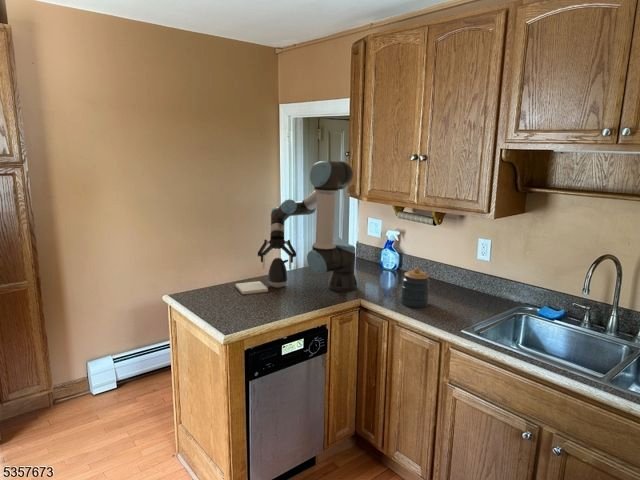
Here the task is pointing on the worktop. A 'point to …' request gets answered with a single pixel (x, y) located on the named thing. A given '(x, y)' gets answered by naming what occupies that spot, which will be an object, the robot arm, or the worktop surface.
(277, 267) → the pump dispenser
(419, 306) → the canister
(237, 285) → the tile pad
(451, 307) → the worktop surface
